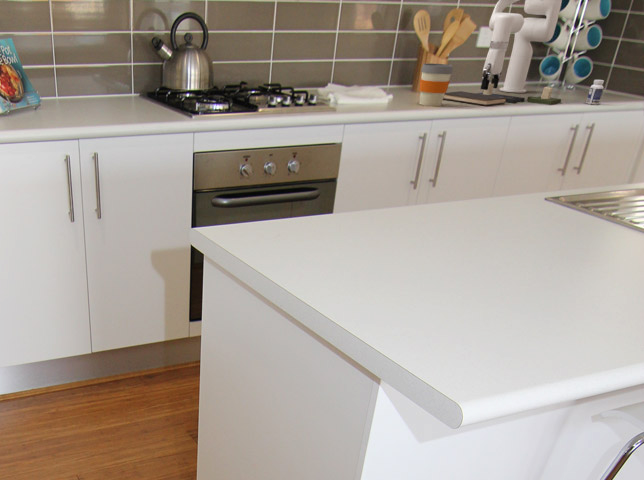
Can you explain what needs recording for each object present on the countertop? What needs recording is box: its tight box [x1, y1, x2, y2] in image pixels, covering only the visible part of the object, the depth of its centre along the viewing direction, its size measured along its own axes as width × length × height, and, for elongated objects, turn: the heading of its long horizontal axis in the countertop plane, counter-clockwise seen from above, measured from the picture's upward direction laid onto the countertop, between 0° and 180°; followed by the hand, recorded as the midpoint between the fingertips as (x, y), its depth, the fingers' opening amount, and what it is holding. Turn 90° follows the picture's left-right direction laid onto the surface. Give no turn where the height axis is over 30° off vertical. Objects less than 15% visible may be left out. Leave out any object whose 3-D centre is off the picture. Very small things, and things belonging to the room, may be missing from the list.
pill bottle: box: [585, 79, 605, 106], centre depth 327 cm, size 5×5×10 cm
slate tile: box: [475, 82, 504, 97], centre depth 331 cm, size 12×13×6 cm
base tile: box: [497, 94, 526, 104], centre depth 328 cm, size 12×10×2 cm
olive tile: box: [526, 86, 562, 106], centre depth 328 cm, size 12×13×6 cm
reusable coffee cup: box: [419, 62, 454, 107], centre depth 305 cm, size 12×13×15 cm
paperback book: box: [443, 90, 507, 107], centre depth 321 cm, size 16×23×2 cm
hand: (488, 88), depth 332 cm, fingers open, 9 cm apart
